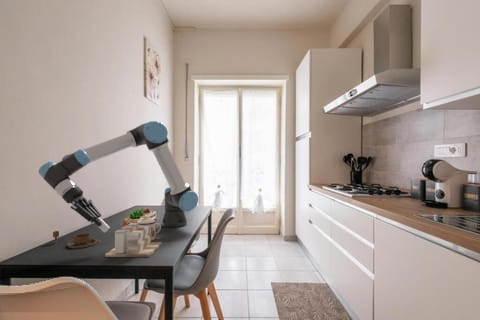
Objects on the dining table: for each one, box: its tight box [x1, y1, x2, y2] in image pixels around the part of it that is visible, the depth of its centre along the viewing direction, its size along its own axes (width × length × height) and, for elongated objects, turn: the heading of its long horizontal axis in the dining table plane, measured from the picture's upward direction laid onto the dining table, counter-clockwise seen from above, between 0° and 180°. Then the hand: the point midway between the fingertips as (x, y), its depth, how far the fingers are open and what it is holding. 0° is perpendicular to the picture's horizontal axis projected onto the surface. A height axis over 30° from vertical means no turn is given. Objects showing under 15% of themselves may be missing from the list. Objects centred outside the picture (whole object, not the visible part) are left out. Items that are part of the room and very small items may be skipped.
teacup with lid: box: [136, 215, 162, 242], centre depth 139 cm, size 12×9×12 cm
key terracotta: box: [120, 225, 133, 234], centre depth 121 cm, size 3×4×9 cm
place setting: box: [52, 230, 102, 249], centre depth 132 cm, size 18×20×6 cm
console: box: [104, 225, 162, 258], centre depth 121 cm, size 17×18×10 cm
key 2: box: [127, 222, 139, 231], centre depth 127 cm, size 3×4×9 cm
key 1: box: [114, 229, 127, 253], centre depth 114 cm, size 3×4×9 cm
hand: (107, 230), depth 121 cm, fingers closed
